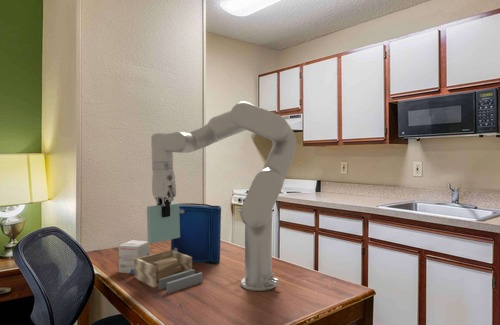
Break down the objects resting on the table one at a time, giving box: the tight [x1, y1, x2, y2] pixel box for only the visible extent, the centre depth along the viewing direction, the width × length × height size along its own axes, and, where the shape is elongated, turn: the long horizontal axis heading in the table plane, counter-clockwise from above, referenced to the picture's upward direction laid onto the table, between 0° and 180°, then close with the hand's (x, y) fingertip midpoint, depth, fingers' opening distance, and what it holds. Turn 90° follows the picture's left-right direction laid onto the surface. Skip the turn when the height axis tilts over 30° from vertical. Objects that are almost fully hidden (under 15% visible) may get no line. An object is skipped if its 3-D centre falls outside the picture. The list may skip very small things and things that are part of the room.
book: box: [170, 202, 222, 264], centre depth 145 cm, size 22×7×25 cm, turn 84°
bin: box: [134, 249, 193, 289], centre depth 125 cm, size 14×16×8 cm
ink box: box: [118, 239, 150, 275], centre depth 133 cm, size 9×8×12 cm
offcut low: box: [156, 265, 182, 283], centre depth 123 cm, size 4×10×4 cm, turn 135°
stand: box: [158, 268, 204, 295], centre depth 117 cm, size 9×15×4 cm, turn 135°
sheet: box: [146, 202, 180, 244], centre depth 124 cm, size 2×12×13 cm, turn 134°
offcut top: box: [153, 257, 178, 273], centre depth 123 cm, size 4×8×3 cm, turn 139°
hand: (163, 215), depth 124 cm, fingers closed on sheet, 2 cm apart
